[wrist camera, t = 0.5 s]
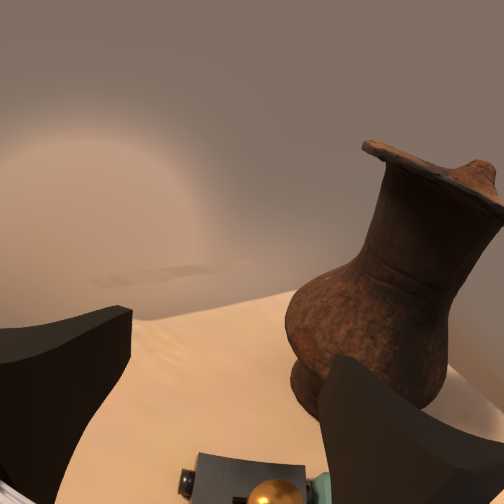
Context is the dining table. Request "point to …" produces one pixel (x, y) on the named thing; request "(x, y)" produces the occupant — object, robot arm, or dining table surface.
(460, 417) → the dining table surface
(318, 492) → the tray
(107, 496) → the dining table surface
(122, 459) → the dining table surface
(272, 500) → the pin
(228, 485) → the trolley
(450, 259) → the jug
